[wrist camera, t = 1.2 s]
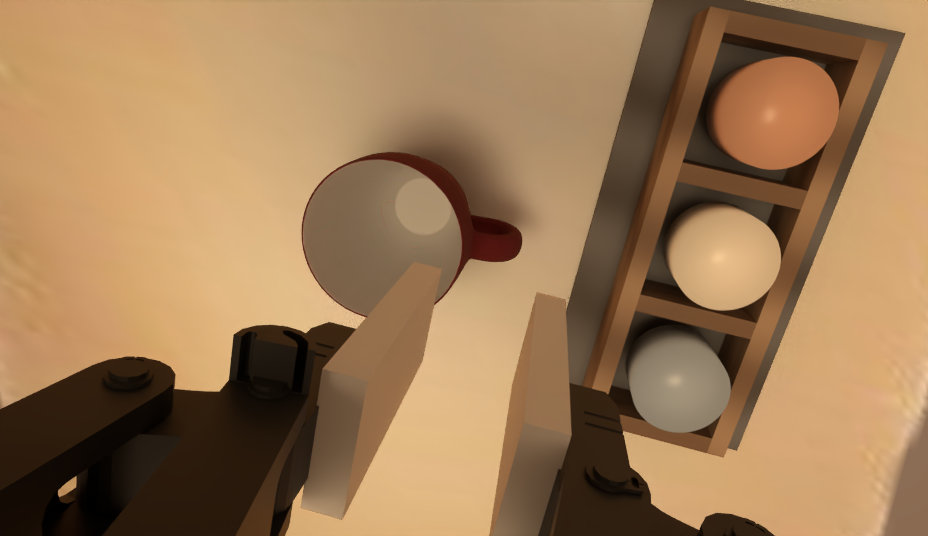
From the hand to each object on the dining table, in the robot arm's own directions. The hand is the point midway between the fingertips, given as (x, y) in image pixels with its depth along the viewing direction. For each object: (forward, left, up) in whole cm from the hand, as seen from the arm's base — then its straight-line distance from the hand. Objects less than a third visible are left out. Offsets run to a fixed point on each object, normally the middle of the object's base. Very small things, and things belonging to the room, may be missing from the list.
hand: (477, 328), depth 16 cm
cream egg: (0, +11, -20) cm, 23 cm away
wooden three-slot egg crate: (0, +11, -23) cm, 25 cm away
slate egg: (+8, +11, -20) cm, 24 cm away
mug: (+2, -5, -23) cm, 23 cm away
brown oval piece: (-8, +11, -20) cm, 24 cm away
